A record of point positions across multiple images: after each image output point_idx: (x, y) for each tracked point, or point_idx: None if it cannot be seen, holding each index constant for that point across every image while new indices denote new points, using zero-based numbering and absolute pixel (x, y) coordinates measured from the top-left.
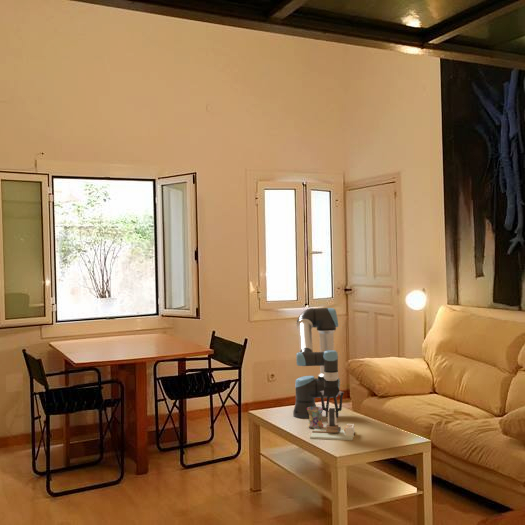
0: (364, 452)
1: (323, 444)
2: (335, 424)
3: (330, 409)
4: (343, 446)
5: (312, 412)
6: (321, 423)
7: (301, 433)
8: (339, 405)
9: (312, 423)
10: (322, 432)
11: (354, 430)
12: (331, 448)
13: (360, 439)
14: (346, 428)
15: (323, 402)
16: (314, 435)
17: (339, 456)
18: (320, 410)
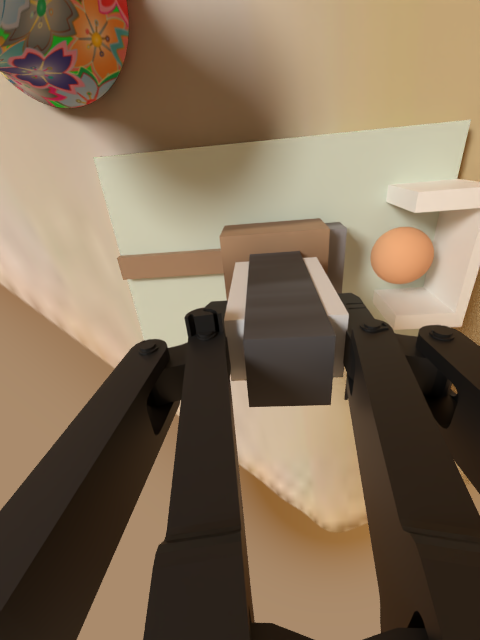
0: None
1: (252, 430)
2: (299, 232)
3: (271, 404)
4: (354, 442)
5: None
6: (103, 12)
7: (51, 263)
8: (452, 453)
9: (26, 84)
10: (198, 272)
11: (466, 136)
12: (299, 468)
13: (468, 323)
14: (402, 327)
15: (132, 504)
16: (166, 339)
17: (339, 529)
18: (2, 2)
